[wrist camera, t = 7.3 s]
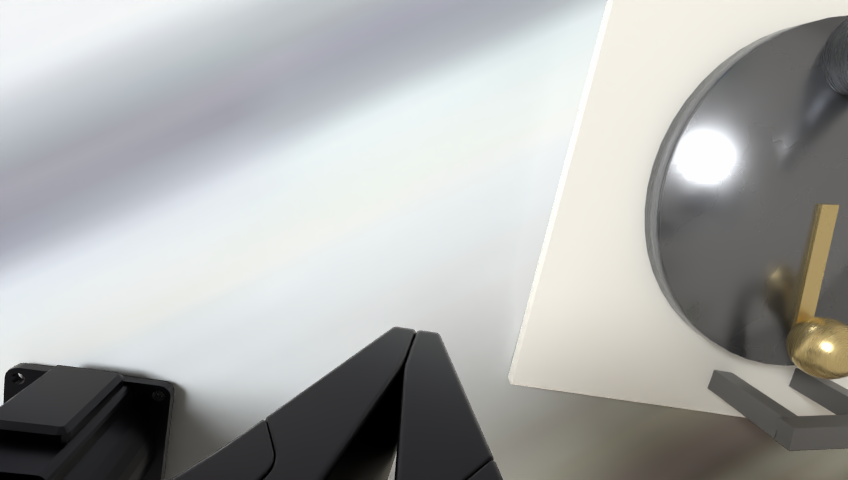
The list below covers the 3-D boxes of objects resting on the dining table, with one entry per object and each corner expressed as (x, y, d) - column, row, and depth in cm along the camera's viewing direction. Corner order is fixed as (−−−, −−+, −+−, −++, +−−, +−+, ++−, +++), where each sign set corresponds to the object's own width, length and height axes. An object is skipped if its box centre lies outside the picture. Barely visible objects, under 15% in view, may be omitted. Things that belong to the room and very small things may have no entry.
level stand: (888, 432, 26) (1014, 505, 21) (507, 377, 23) (547, 448, 18) (1074, 10, 22) (1286, -27, 17) (641, -131, 19) (743, -229, 14)
